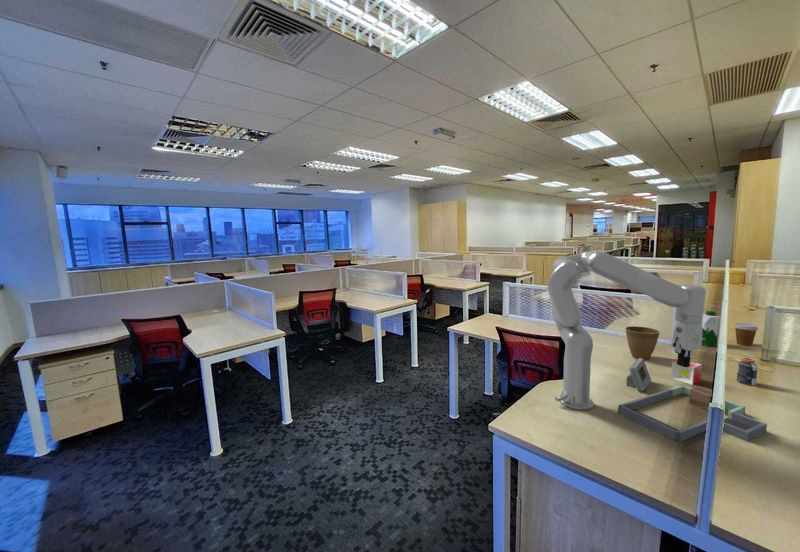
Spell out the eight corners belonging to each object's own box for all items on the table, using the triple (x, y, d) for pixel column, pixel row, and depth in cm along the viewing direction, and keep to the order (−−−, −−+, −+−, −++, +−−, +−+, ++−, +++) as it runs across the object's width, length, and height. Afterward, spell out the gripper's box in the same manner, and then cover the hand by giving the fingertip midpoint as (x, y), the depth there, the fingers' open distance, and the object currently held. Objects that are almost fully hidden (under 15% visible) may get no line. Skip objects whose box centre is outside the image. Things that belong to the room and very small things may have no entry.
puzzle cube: (671, 378, 150) (672, 362, 149) (679, 374, 153) (680, 359, 152) (692, 385, 143) (694, 368, 142) (700, 380, 146) (702, 364, 145)
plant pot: (664, 363, 167) (666, 333, 165) (633, 362, 170) (634, 333, 168) (647, 353, 182) (648, 325, 180) (618, 352, 184) (620, 325, 182)
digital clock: (641, 393, 136) (643, 370, 135) (618, 386, 144) (619, 363, 143) (658, 384, 144) (660, 361, 143) (636, 377, 152) (637, 355, 151)
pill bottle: (760, 386, 139) (762, 361, 138) (743, 385, 140) (746, 361, 139) (748, 380, 145) (750, 356, 144) (732, 379, 146) (734, 356, 145)
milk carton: (720, 345, 189) (722, 313, 187) (707, 347, 187) (710, 314, 185) (703, 341, 197) (705, 309, 195) (691, 342, 196) (693, 311, 194)
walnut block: (708, 410, 122) (709, 396, 121) (689, 403, 128) (690, 389, 127) (717, 407, 124) (718, 392, 123) (698, 400, 130) (699, 386, 129)
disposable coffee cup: (728, 343, 193) (730, 324, 191) (738, 341, 195) (740, 322, 194) (750, 348, 184) (751, 328, 182) (760, 345, 186) (762, 326, 185)
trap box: (711, 458, 96) (712, 449, 96) (618, 412, 123) (618, 405, 123) (777, 426, 111) (778, 418, 110) (681, 391, 137) (681, 384, 137)
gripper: (688, 323, 111) (682, 372, 113) (713, 319, 116) (707, 366, 118) (664, 317, 118) (659, 365, 120) (688, 314, 123) (683, 359, 125)
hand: (683, 365), depth 119 cm, fingers closed
